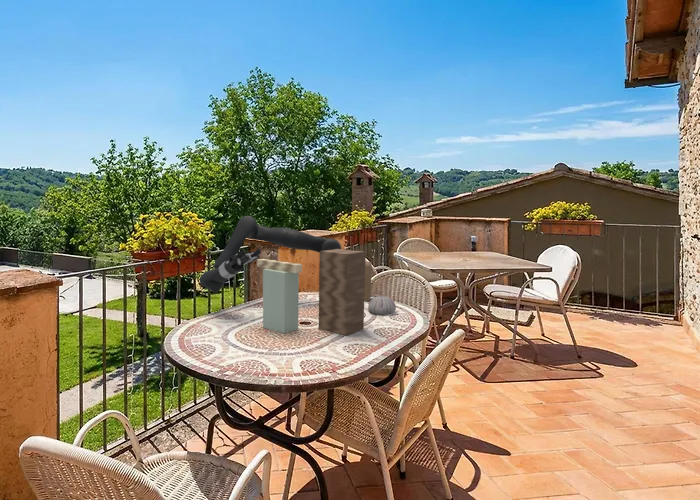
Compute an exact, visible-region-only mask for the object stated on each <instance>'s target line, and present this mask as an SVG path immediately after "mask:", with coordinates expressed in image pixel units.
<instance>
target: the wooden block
mask: <svg viewBox="0 0 700 500" xmlns="http://www.w3.org/2000/svg"><path fill="white" fill-rule="evenodd" d="M372 265H373V264H372V262H371V261H365V294H364V301H369V302H370V301H371V297H372V292H371V291H372V273H373V272H372V269H373V266H372Z"/></svg>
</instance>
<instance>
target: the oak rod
mask: <svg viewBox="0 0 700 500" xmlns="http://www.w3.org/2000/svg"><path fill="white" fill-rule="evenodd" d="M302 265H303V264H302V263H295V262H287V261H280V260H274V259H268V258H267V259H266V258H258V259H256V267H257V268H261V269H272V270H278V271H285V272H291V273H299V274H301V273H303V266H302Z"/></svg>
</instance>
